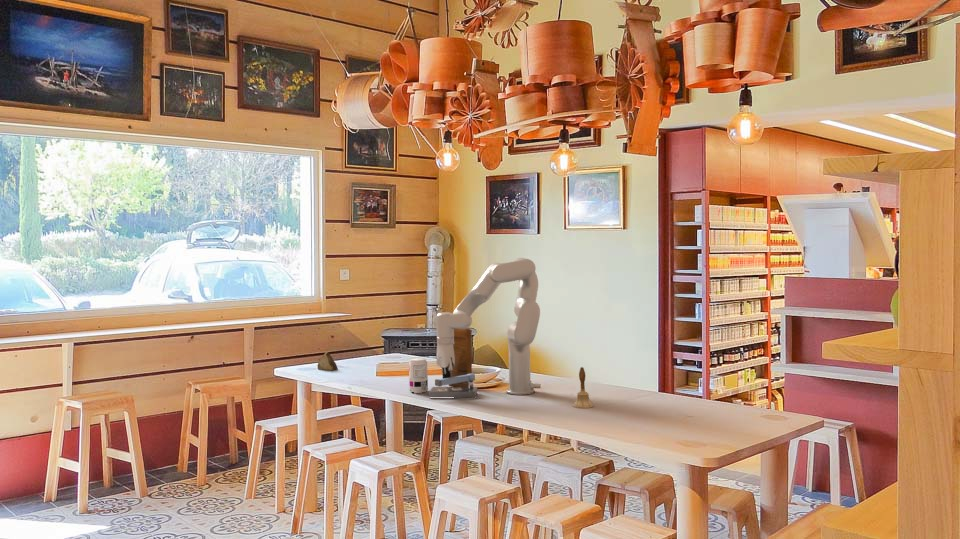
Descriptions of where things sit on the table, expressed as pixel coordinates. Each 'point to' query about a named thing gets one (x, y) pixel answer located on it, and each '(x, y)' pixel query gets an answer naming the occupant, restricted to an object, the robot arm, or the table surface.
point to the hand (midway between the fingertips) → (446, 382)
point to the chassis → (454, 391)
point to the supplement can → (418, 375)
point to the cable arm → (455, 379)
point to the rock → (327, 362)
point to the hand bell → (582, 393)
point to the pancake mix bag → (462, 355)
